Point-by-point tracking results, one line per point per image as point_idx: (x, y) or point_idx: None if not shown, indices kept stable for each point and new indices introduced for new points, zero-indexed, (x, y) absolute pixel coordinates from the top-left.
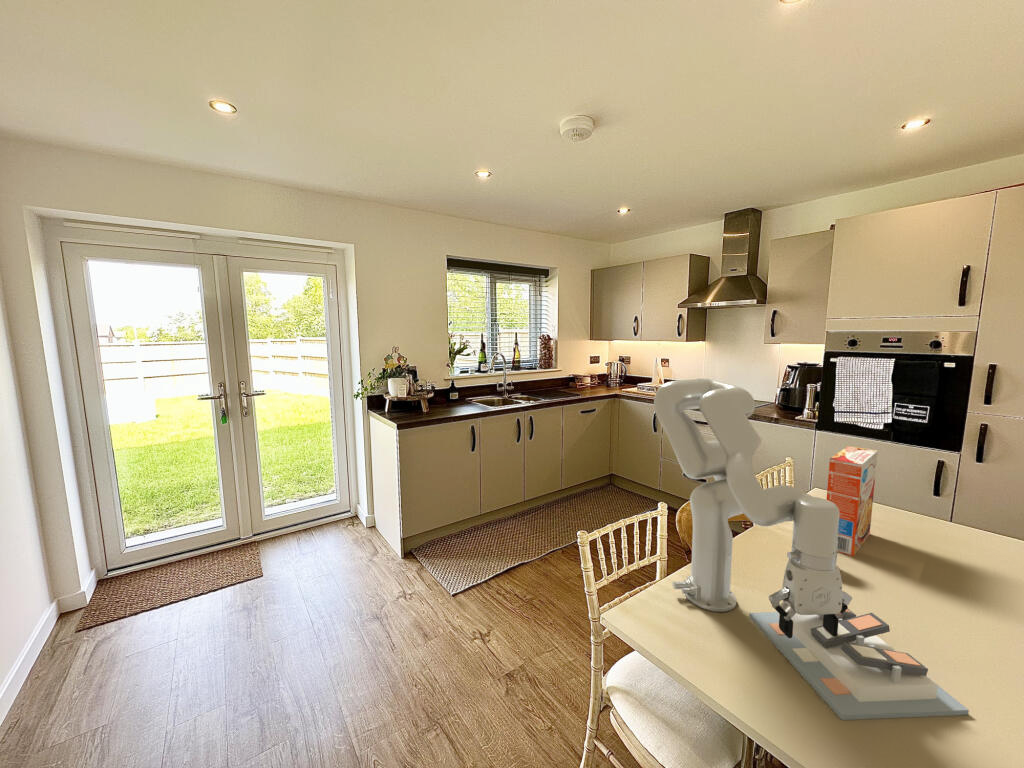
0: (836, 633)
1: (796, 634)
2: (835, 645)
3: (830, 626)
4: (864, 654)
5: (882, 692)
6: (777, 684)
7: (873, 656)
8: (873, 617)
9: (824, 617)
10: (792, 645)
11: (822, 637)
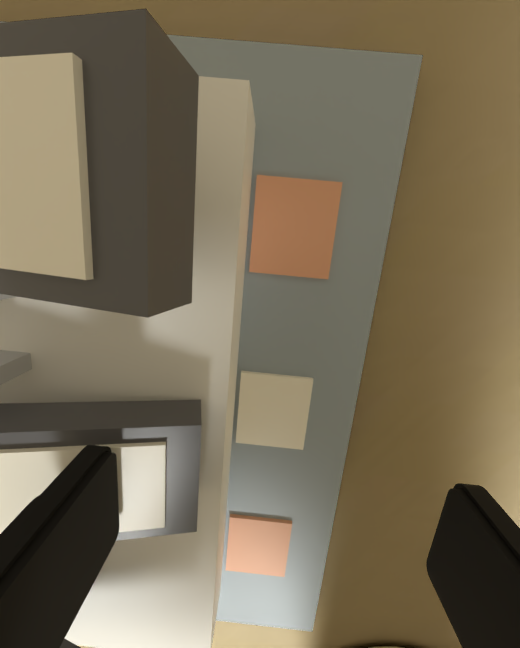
0: (80, 461)
1: (224, 511)
2: (134, 402)
3: (82, 529)
4: (31, 100)
5: None
6: (516, 300)
7: None
8: None
9: (63, 628)
10: (282, 464)
11: (183, 460)
